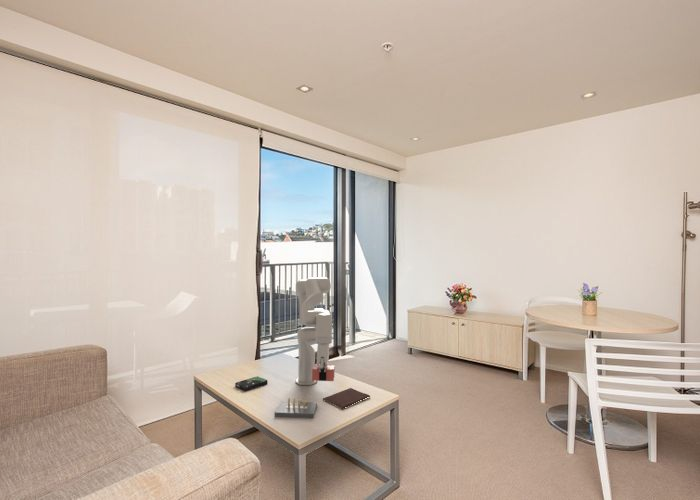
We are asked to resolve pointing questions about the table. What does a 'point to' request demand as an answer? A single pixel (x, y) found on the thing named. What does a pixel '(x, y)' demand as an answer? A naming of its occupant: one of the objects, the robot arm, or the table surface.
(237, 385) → the disk drive
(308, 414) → the board
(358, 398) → the notebook
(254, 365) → the table surface
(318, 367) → the block
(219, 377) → the table surface
